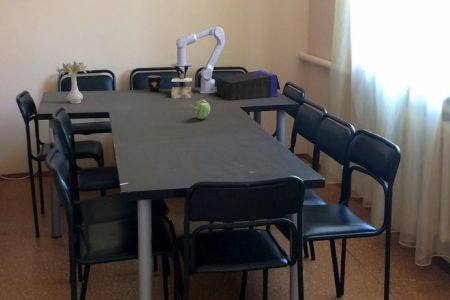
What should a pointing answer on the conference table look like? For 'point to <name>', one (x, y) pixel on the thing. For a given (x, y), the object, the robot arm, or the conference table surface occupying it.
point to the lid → (182, 79)
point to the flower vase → (73, 80)
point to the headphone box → (248, 86)
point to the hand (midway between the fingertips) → (182, 77)
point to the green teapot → (202, 109)
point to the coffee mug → (154, 83)
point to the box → (181, 92)
